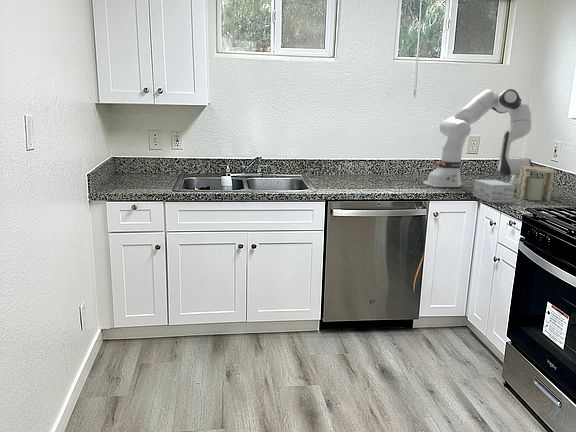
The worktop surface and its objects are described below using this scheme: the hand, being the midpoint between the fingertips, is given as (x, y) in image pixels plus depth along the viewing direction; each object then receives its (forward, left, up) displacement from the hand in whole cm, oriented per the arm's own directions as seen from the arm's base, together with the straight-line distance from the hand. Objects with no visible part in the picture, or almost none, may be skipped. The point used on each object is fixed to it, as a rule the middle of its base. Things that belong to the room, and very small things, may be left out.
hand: (532, 188), depth 275 cm
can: (-2, -3, -5) cm, 6 cm away
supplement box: (-25, +2, -5) cm, 26 cm away
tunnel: (+2, +4, -5) cm, 7 cm away
